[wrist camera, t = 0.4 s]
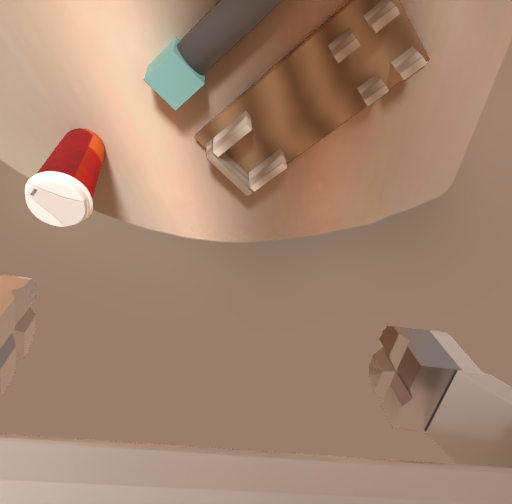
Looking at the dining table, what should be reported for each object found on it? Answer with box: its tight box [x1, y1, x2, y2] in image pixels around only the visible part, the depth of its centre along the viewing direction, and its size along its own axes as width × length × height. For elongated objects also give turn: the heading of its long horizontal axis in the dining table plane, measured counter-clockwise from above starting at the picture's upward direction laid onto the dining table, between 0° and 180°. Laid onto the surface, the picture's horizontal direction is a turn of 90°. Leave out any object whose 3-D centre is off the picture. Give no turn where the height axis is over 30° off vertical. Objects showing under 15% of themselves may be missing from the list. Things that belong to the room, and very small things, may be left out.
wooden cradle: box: [195, 0, 430, 197], centre depth 55 cm, size 30×12×5 cm, turn 130°
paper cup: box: [25, 129, 105, 227], centre depth 55 cm, size 8×8×14 cm
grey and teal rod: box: [144, 0, 282, 111], centre depth 47 cm, size 28×5×5 cm, turn 130°
